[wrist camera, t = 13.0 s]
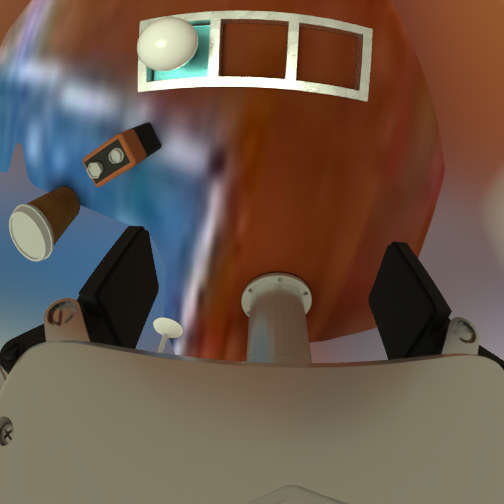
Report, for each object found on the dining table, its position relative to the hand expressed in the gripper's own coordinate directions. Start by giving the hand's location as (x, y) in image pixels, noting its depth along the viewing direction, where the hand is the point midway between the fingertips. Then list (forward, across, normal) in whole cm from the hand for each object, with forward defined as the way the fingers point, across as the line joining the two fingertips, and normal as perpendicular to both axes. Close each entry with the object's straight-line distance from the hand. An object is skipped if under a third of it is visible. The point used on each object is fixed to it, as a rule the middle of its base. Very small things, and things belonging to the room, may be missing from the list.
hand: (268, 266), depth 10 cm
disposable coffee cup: (+28, +34, +10) cm, 45 cm away
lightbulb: (+28, +10, -12) cm, 32 cm away
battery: (+28, +18, +1) cm, 34 cm away
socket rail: (+28, +2, -12) cm, 31 cm away
